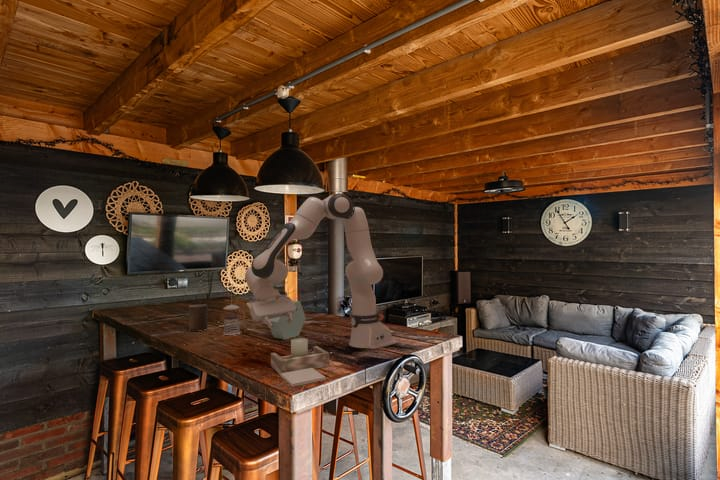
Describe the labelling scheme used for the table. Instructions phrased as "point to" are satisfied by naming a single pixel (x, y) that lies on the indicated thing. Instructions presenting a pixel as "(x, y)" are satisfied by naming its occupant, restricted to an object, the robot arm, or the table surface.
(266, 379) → the table surface
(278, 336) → the grey-green faceted block
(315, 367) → the frame
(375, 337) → the robot arm
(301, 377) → the concrete tile
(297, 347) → the sage green rounded cylinder
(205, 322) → the pillar candle
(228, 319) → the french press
